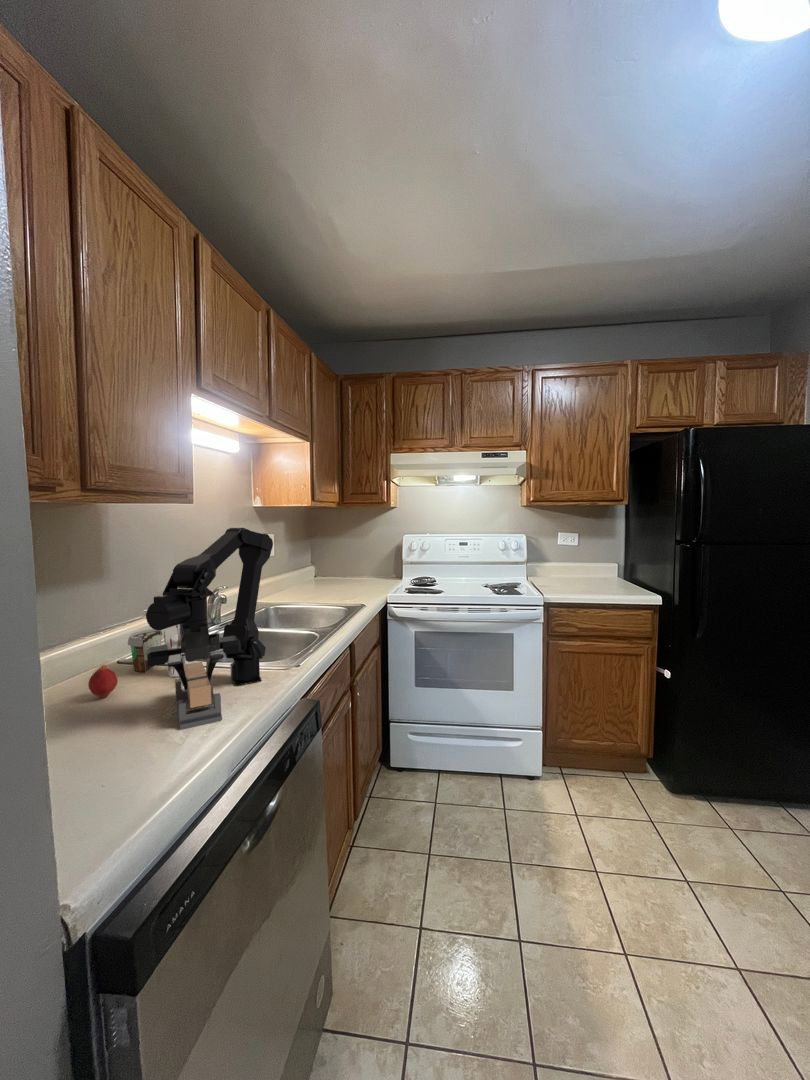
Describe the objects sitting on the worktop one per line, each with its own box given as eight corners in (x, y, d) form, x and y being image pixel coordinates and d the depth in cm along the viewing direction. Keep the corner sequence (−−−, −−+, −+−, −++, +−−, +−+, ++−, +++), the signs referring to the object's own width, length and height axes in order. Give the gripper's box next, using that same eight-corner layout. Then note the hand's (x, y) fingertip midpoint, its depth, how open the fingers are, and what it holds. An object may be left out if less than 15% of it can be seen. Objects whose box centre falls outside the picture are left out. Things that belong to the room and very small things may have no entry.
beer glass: (162, 679, 122) (160, 623, 121) (169, 670, 129) (166, 618, 128) (191, 676, 124) (189, 621, 123) (195, 668, 131) (193, 616, 130)
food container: (142, 661, 137) (140, 628, 137) (163, 660, 138) (162, 627, 137) (119, 675, 125) (118, 639, 124) (143, 675, 125) (141, 639, 125)
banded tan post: (202, 678, 112) (202, 661, 111) (211, 704, 96) (211, 684, 96) (183, 681, 109) (183, 664, 109) (190, 708, 94) (189, 688, 94)
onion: (101, 703, 106) (99, 670, 106) (83, 700, 108) (81, 667, 108) (123, 694, 112) (122, 662, 111) (106, 691, 114) (104, 660, 113)
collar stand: (211, 692, 113) (210, 672, 112) (222, 720, 97) (221, 697, 97) (175, 698, 109) (174, 678, 108) (180, 729, 93) (179, 705, 93)
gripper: (145, 633, 90) (149, 710, 91) (244, 621, 99) (246, 691, 100) (145, 621, 100) (149, 691, 101) (235, 611, 109) (237, 675, 110)
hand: (196, 687), depth 103 cm, fingers closed on banded tan post, 4 cm apart
